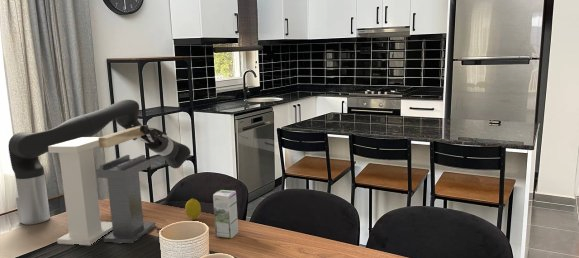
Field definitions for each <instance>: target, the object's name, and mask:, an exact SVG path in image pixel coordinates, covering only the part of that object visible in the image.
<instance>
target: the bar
mask: <svg viewBox="0 0 579 258" xmlns="http://www.w3.org/2000/svg"><path fill="white" fill-rule="evenodd" d="M143 125H144V124H143ZM140 126H141V125H139V126H136V127H133V128H129V129H123V130H120V131H117V132H113V133H110V134H106V135H103V136H99V137H100V138H98V139H99V146H98V147H99V149H100V148H108V149H109V148H111V147H114V146H116V145H120V144H123V143H126V142H128V141H131V140H133V139H134V138H137V137H140V136H143V135H146V134H144V133H143V132H141V131H140ZM144 126H145V127H147V128H149V125H147V124H145V125H144Z"/></svg>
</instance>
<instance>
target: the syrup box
mask: <svg viewBox="0 0 579 258" xmlns="http://www.w3.org/2000/svg"><path fill="white" fill-rule="evenodd" d="M236 191H237V190H225V189H220V190H218V191H216V192H215V193H213V195H212V201H213V214H214V228H215V237H216V238H223V239H232V238H234V237H235V236H236V235H238V234H239V222H238V207H237V203H238V202H237V201H238V200H237V192H236Z"/></svg>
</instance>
